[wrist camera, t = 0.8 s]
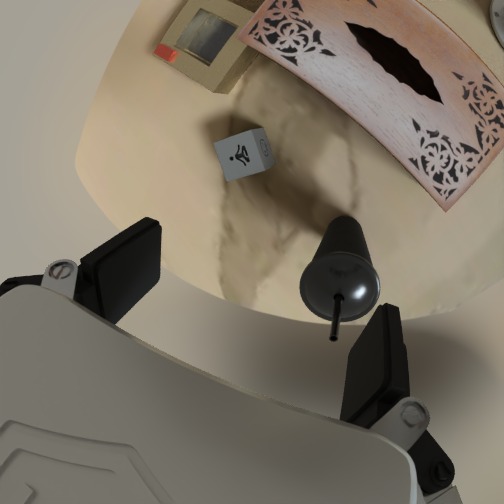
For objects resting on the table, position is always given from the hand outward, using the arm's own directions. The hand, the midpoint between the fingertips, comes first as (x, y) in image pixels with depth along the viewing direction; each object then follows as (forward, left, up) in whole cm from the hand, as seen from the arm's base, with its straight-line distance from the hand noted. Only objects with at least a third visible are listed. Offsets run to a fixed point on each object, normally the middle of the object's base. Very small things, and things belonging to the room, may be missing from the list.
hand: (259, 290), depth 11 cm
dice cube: (+4, -8, -27) cm, 29 cm away
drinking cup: (+5, +8, -27) cm, 29 cm away
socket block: (-5, -21, -27) cm, 35 cm away
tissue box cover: (-14, -2, -28) cm, 31 cm away
